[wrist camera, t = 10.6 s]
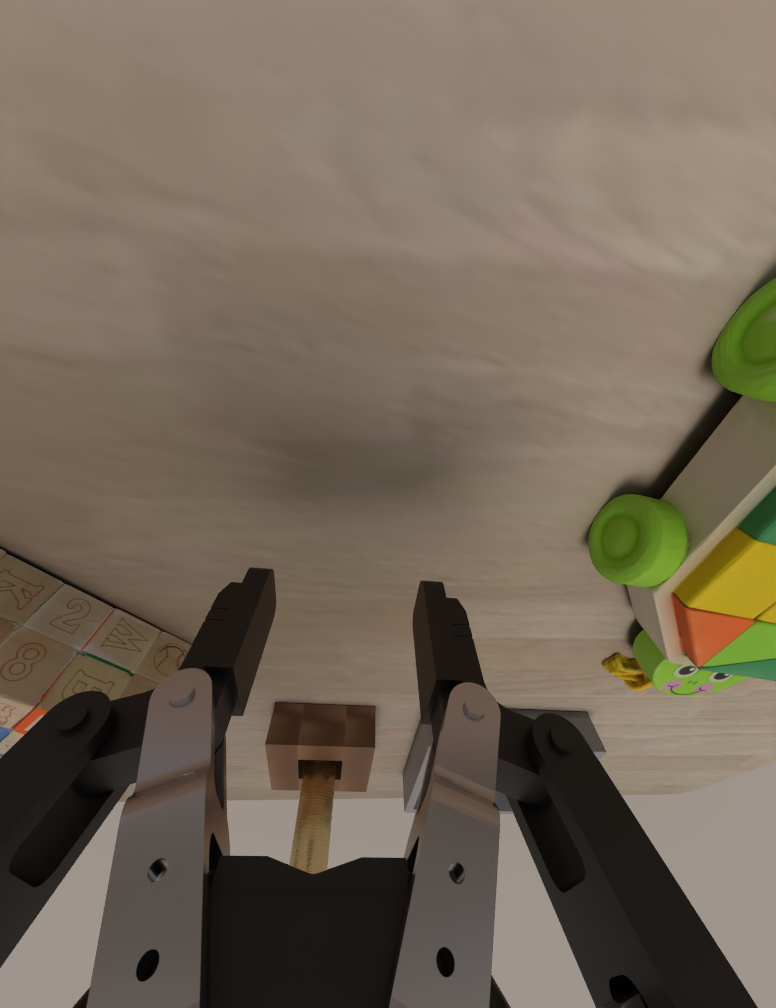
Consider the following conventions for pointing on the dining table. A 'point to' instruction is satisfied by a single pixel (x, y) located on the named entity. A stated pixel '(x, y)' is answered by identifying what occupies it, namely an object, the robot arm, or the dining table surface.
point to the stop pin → (314, 817)
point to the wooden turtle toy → (707, 536)
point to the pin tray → (417, 770)
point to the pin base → (321, 743)
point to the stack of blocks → (69, 648)
